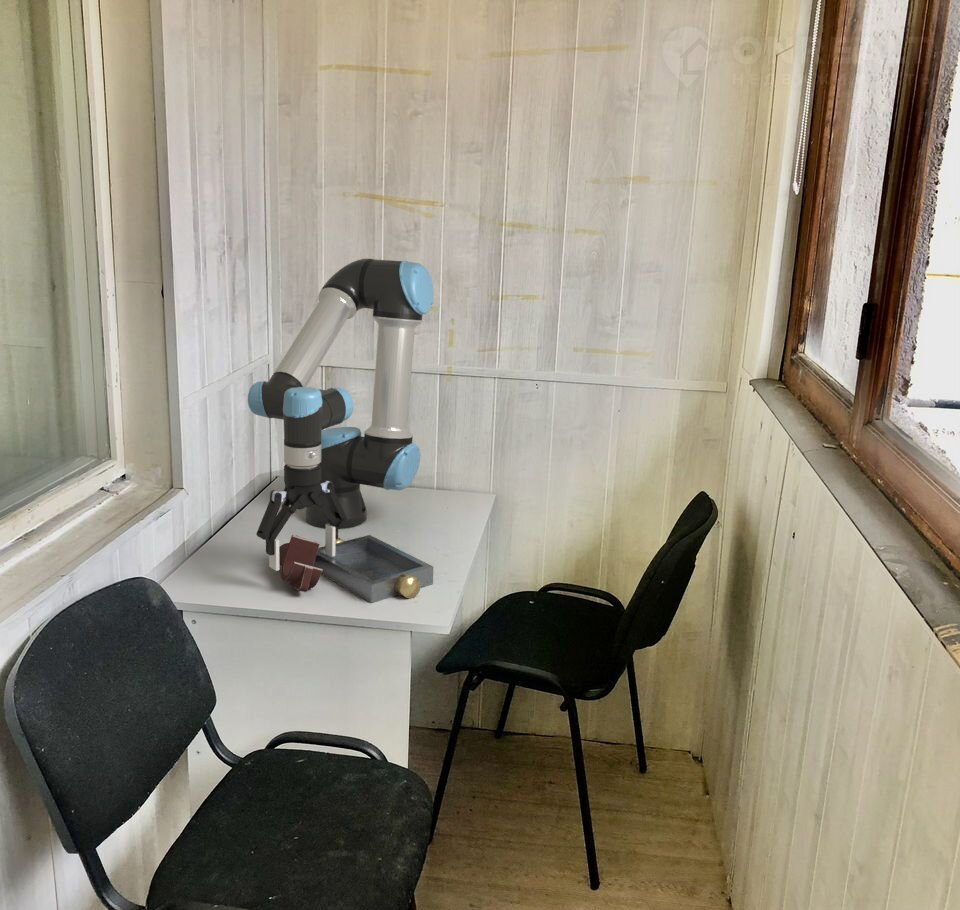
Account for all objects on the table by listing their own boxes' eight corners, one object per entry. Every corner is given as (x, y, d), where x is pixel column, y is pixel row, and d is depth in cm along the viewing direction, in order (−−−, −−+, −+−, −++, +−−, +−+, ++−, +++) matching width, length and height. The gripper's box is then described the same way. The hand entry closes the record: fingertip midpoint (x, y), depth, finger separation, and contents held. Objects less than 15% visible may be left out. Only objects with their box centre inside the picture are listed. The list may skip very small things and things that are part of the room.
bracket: (288, 588, 184) (304, 540, 184) (267, 574, 199) (282, 529, 200) (317, 595, 186) (332, 548, 187) (294, 580, 201) (308, 536, 202)
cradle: (302, 562, 203) (302, 544, 202) (361, 547, 214) (362, 529, 213) (380, 608, 183) (380, 587, 182) (441, 588, 193) (442, 569, 192)
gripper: (257, 478, 176) (258, 580, 182) (363, 459, 193) (362, 553, 198) (238, 468, 182) (240, 568, 187) (343, 451, 198) (342, 543, 204)
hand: (303, 561), depth 193 cm, fingers open, 13 cm apart
